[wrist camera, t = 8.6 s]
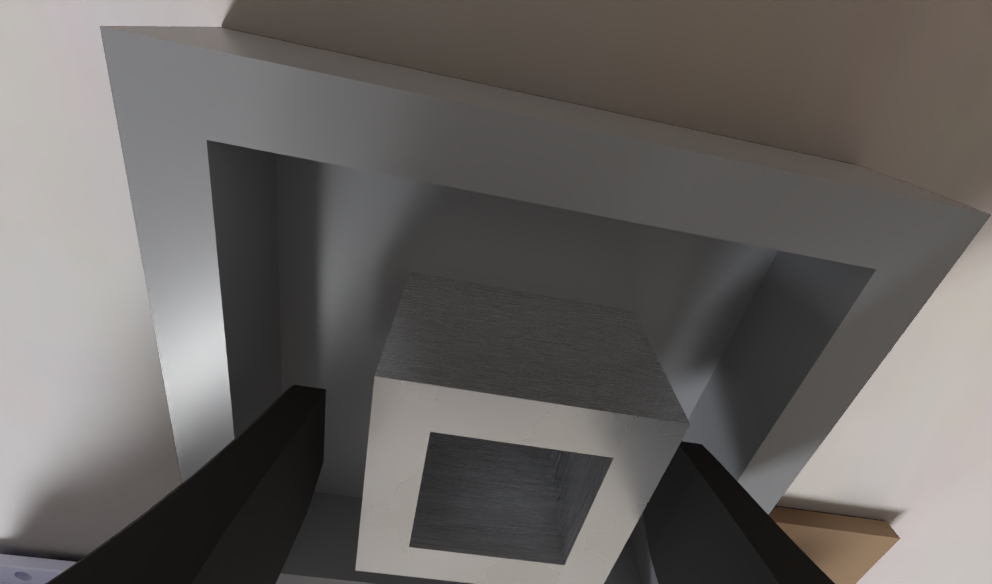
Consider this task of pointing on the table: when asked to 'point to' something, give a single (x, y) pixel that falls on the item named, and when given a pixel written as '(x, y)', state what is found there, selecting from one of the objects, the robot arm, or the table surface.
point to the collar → (511, 437)
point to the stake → (837, 541)
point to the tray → (492, 252)
